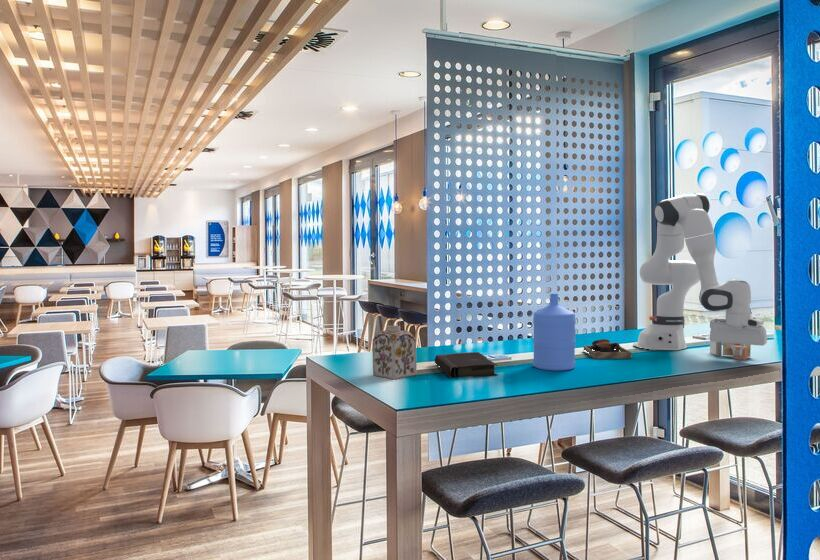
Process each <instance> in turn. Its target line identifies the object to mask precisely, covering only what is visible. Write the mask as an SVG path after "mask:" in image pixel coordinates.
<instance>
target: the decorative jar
mask: <svg viewBox="0 0 820 560" xmlns="http://www.w3.org/2000/svg"><path fill="white" fill-rule="evenodd" d="M417 362H418V361H417V339H416V337H415V336H414V335H413V334H412V333H411V331H408V330H403V329H401V325H388V326H387V329H386V330H381V331H379V332H378V333H376V335H375V336H374V337H373V338H372V375H373V376H376V377H379V378H384V379H389V380H393V381H394V380H399V379H404V378H409V377H413V376H416V375H417V369H418V368H417Z"/></svg>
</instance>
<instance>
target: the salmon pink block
mask: <svg viewBox="0 0 820 560" xmlns="http://www.w3.org/2000/svg"><path fill="white" fill-rule="evenodd" d="M734 347H735V349H736V350H740V349H741V347H740V345H735V346H734ZM748 358H749V357H748V346H745V347H744V349H743V350H742V355H733V356H732V359H734V360H742V361H745V360H747V359H748Z"/></svg>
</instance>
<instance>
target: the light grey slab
mask: <svg viewBox="0 0 820 560" xmlns="http://www.w3.org/2000/svg"><path fill="white" fill-rule="evenodd" d="M709 353H710V354H712V355H714V356H716V357H722V356H723V342H713V341H711V340H710V339H709Z"/></svg>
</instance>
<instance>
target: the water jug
mask: <svg viewBox="0 0 820 560" xmlns="http://www.w3.org/2000/svg"><path fill="white" fill-rule="evenodd" d="M549 296H550V297H549V305H546V306H544V307H542V308H539V309H538V310H536V311H534V312H533V319H532V324H533V339H532V345H533V359H532V365H533V367H535V368H536V369H539V370H542V371H543V370H544V371H551V372H552V371H554V372H555V371H556V372H562V371H569V370H573V369H574V368H575V367H576V360H575V359H576V358H575V357H576V356H575V353H576V350H575V348H576V327H575V326H576V314H575V312H574V311H572V310H570V309H568V308H566V307H564V306H561V305H560V304H559V293H550V294H549Z"/></svg>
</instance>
